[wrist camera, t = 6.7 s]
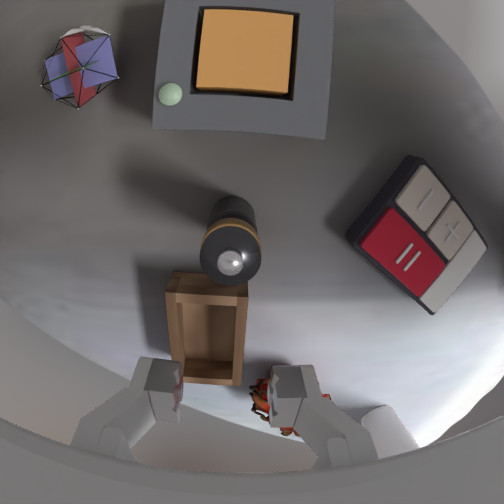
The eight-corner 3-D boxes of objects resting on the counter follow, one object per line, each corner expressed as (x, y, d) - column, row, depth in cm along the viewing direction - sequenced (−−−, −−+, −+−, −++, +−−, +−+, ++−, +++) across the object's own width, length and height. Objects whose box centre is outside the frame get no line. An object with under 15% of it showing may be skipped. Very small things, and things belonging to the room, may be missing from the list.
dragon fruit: (315, 392, 41) (252, 354, 39) (356, 389, 34) (286, 345, 32) (293, 443, 36) (223, 408, 34) (333, 449, 29) (254, 412, 27)
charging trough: (247, 275, 30) (248, 297, 27) (240, 361, 35) (240, 385, 31) (173, 271, 30) (164, 292, 26) (179, 357, 35) (174, 381, 31)
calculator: (425, 156, 23) (493, 249, 26) (404, 152, 27) (472, 236, 30) (353, 248, 26) (435, 320, 29) (340, 233, 30) (419, 301, 33)
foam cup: (405, 393, 41) (434, 453, 29) (397, 420, 44) (420, 474, 32) (352, 410, 41) (373, 476, 29) (350, 436, 45) (367, 494, 33)
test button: (286, 27, 18) (293, 15, 15) (281, 96, 20) (287, 92, 18) (208, 22, 18) (204, 9, 15) (201, 91, 20) (196, 86, 17)
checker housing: (316, 17, 20) (336, -9, 14) (306, 136, 25) (326, 140, 19) (182, 7, 19) (167, -21, 14) (170, 128, 24) (150, 129, 18)
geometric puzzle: (123, 114, 21) (85, 48, 14) (59, 133, 21) (12, 81, 14) (134, 62, 23) (109, 1, 15) (75, 80, 23) (43, 29, 15)
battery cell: (256, 197, 27) (266, 235, 18) (253, 239, 29) (260, 293, 20) (211, 194, 27) (197, 231, 18) (210, 236, 28) (197, 290, 19)
